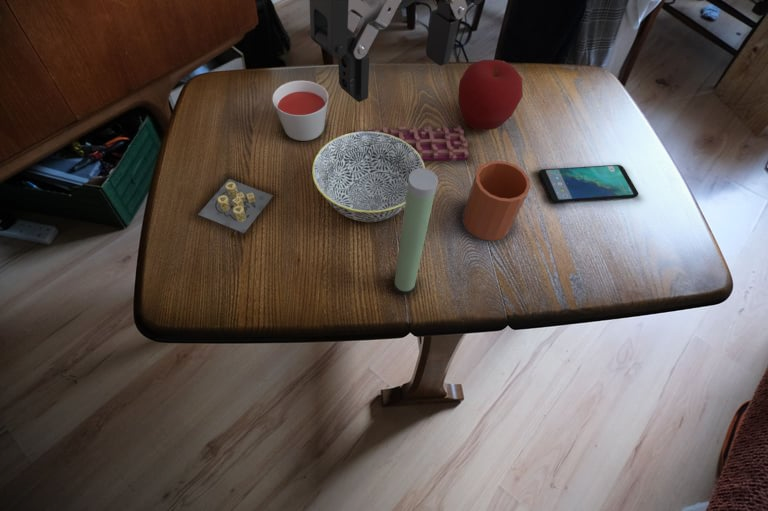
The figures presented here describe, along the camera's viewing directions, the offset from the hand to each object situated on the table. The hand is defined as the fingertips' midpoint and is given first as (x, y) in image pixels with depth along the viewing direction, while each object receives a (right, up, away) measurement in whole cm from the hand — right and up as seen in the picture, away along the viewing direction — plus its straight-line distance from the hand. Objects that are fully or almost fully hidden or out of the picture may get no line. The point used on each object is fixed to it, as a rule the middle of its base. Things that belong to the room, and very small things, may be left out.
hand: (398, 77), depth 36 cm
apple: (+16, +9, +45) cm, 49 cm away
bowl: (-4, -6, +33) cm, 34 cm away
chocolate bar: (+4, +4, +41) cm, 41 cm away
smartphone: (+32, -3, +37) cm, 49 cm away
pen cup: (+15, -9, +32) cm, 36 cm away
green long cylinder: (+2, -19, +25) cm, 31 cm away
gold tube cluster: (-24, -7, +32) cm, 40 cm away
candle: (-15, +8, +42) cm, 45 cm away
